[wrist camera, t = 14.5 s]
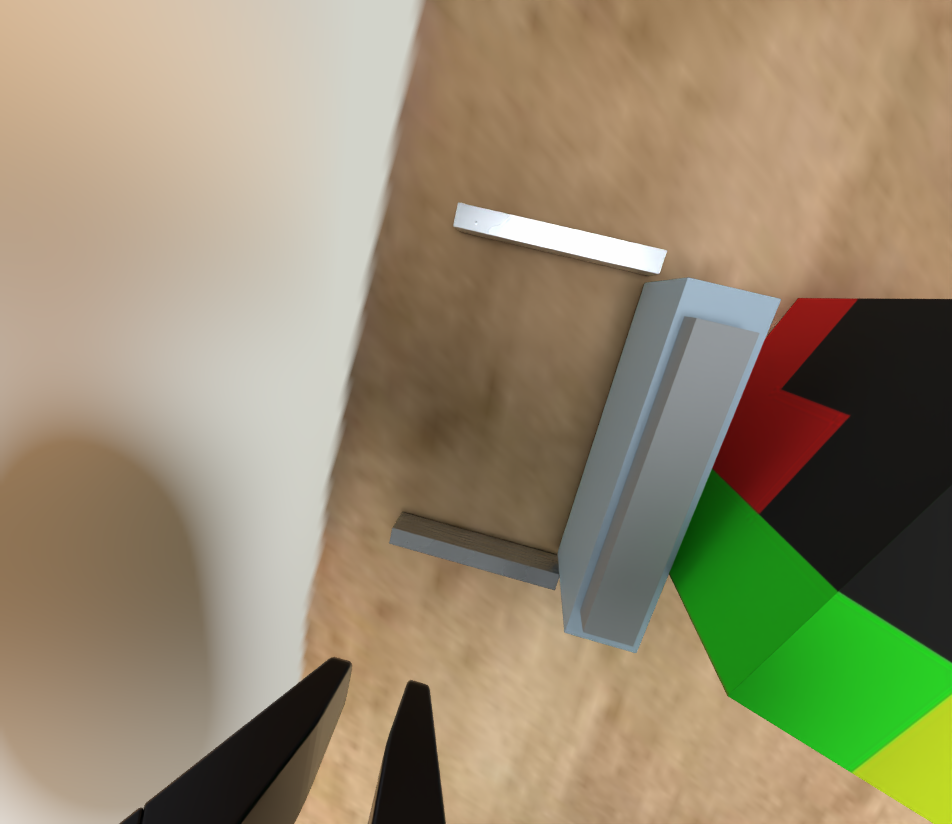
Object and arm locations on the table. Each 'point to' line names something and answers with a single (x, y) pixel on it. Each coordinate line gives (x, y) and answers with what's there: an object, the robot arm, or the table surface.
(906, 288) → the table surface
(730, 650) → the puzzle toy
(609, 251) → the grey rail base
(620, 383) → the bar
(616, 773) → the table surface
